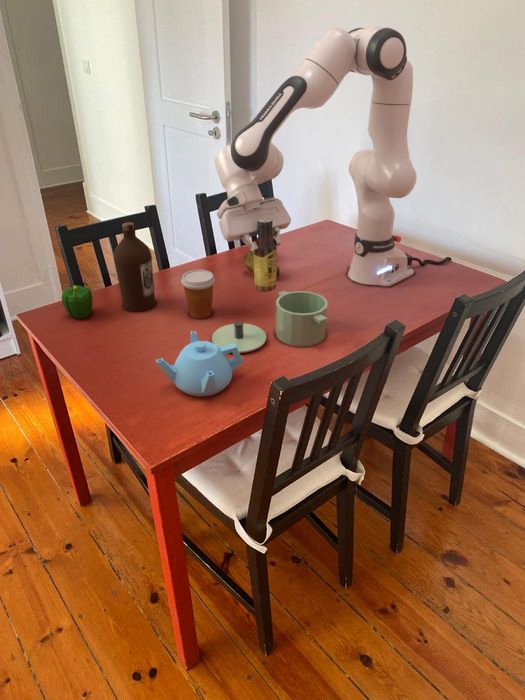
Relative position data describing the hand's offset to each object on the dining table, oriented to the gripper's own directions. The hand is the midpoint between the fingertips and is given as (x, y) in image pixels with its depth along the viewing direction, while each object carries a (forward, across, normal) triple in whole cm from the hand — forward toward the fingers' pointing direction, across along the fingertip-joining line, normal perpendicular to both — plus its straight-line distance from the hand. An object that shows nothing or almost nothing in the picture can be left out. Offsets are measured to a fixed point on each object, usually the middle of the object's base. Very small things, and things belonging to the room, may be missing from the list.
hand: (266, 247), depth 143 cm
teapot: (+29, +31, 0) cm, 43 cm away
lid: (+20, +14, -8) cm, 26 cm away
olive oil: (-4, +29, -32) cm, 44 cm away
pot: (+25, -2, -4) cm, 25 cm away
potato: (-2, -13, -31) cm, 34 cm away
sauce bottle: (+8, 0, -9) cm, 13 cm away
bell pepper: (-6, +46, -35) cm, 58 cm away
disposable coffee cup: (+7, +16, -22) cm, 28 cm away
